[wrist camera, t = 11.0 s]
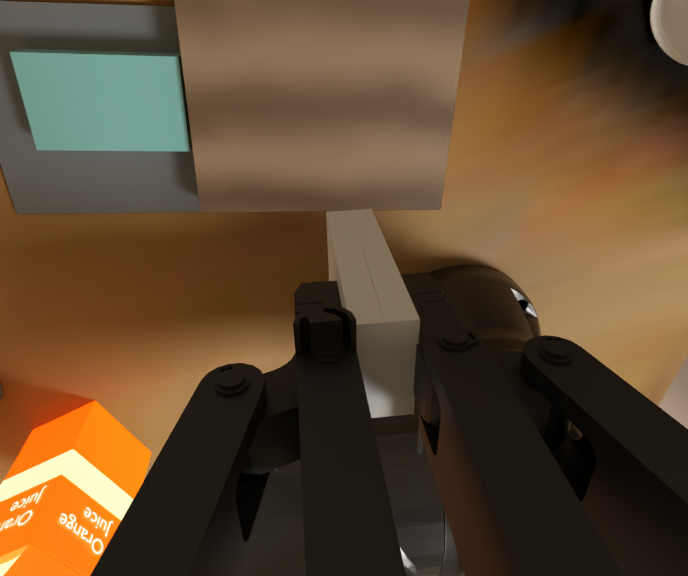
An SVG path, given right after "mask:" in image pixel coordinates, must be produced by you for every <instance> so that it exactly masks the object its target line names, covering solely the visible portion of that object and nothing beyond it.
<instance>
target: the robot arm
mask: <svg viewBox="0 0 688 576" xmlns="http://www.w3.org/2000/svg"><path fill="white" fill-rule="evenodd" d="M326 220H327V244H328V267H329V281H326V282H312V283H301V284H300V286H299V287H298V289H297V290H296V291H295V293H294V299H295V320H294V323H293V328H294V339H295V350H296V353H295V355H294V356H293V358H292V359H291V360H290V361H289V362H288V363H287V364H285V365H284V366H282V367H280V368H278V369H276V370H273V371H270V372H267V373H264V374H262V372H261V370H259V369H258V368H256V367H254V366H253V365H248V364H243V363H236V364H228V365H224V366H221V367H218V368H216V369H214V370H213V371H211V372H209V373H208V374H207V375H206V376H205V377H204V378H203V379H202V380H201V382H200V383H199V385H198V387H197V389H196V390H195V392H194V394H193V396H192V397H191V399H190V401H189V403H188V404H187V406H186V408H185V410H184V411H183V413H182V415H181V417H180V418H179V420H178V422H177V424H176V425H175V427H174V429H173V431H172V432H171V434H170V436H169V438H168V439H167V441H166V443H165V445H164V447H163V448H162V450H161V452H160V454H159V455H158V457H157V459H156V461H155V462H154V464H153V466H152V468H151V469H150V471H149V473H148V475H147V476H146V478H145V480H144V482H143V483H142V485H141V487H140V489H139V490H138V492H137V494H136V496H135V497H134V499H133V501H132V503H131V505H130V506H129V508H128V510H127V512H126V513H125V515H124V517H123V519H122V520H121V522H120V524H119V526H118V527H117V529H116V531H115V533H114V534H113V536H112V538H111V540H110V541H109V543H108V545H107V547H106V548H105V550H104V552H103V554H102V555H101V557H100V559H99V561H98V563H97V564H96V566H95V568H94V570H93V571H92V573H91V575H90V576H688V429H686V428H685V427H684V426H683V425H681V424H680V423H679V422H678V421H676V420H675V419H674V418H672V417H671V416H669V415H668V414H667V413H666V412H664V411H663V410H662V409H661V408H659V407H658V406H657V405H656V404H654V403H653V402H652V401H650V400H649V399H648V398H646V397H645V396H644V395H643V394H641V393H640V392H639V391H637V390H636V389H635V388H633V387H632V386H631V385H630V384H628V383H627V382H626V381H624V380H623V379H622V378H620V377H619V376H618V375H617V374H615V373H614V372H613V371H611V370H610V369H609V368H608V367H606V366H605V365H604V364H602V363H601V362H600V361H598V360H597V359H596V358H595V357H593V356H592V355H591V354H589V353H588V352H587V351H585V350H584V349H583V348H582V347H580V346H578V345H577V344H575V343H573V342H572V341H569V340H566V339H563V338H560V337H555V336H541V331H540V326H539V321H538V317H537V314H536V311H535V309H534V306H533V305H532V303H531V301H530V300H529V298H528V297H527V296H526V294H525V293H524V292H523V291H522V289H521V288H520V287H519V286H518V285H517V284H516V283H515V282H514V281H513V280H512V279H511V278H509V277H508V276H506V275H505V274H503V273H501V272H499V271H497V270H494V269H491V268H487V267H482V266H474V265H463V266H453V267H448V268H444V269H440V270H437V271H434V272H432V273H429V274H426V273H418V274H405V275H400V272H399V270H398V268H397V266H396V263H395V261H394V259H393V256H392V254H391V252H390V250H389V247H388V245H387V243H386V240H385V238H384V236H383V234H382V231H381V229H380V227H379V224H378V222H377V220H376V218H375V215H374V213H373V211H372V209H363V210H346V211H330V212H326Z"/></svg>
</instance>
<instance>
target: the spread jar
mask: <svg viewBox="0 0 688 576" xmlns="http://www.w3.org/2000/svg"><path fill="white" fill-rule="evenodd" d="M650 24H651V30H652V33H653V35H654V38H655V40H656V41H657V43H658V45H659V46H660V48H661V49H662V50H663V51H664V52H665V53H666V54H667V55H668V56H670V57H671V58H672V59H674V60H676V61H677V62H679V63H681V64H684V65H687V66H688V0H652V3H651V8H650Z"/></svg>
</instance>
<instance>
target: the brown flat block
mask: <svg viewBox="0 0 688 576" xmlns="http://www.w3.org/2000/svg"><path fill="white" fill-rule="evenodd" d="M469 1H470V0H174V3H175V11H176V19H177V27H178V35H179V43H180V51H181V59H182V67H183V75H184V83H185V91H186V99H187V107H188V115H189V123H190V131H191V139H192V147H193V155H194V163H195V171H196V179H197V187H198V195H199V203H200V211H201V212H283V211H346V210H363V209H372V210H440V209H441V202H442V195H443V188H444V181H445V173H446V166H447V159H448V152H449V145H450V137H451V130H452V123H453V116H454V109H455V101H456V94H457V87H458V80H459V73H460V65H461V58H462V51H463V44H464V37H465V29H466V22H467V15H468V8H469Z"/></svg>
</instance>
